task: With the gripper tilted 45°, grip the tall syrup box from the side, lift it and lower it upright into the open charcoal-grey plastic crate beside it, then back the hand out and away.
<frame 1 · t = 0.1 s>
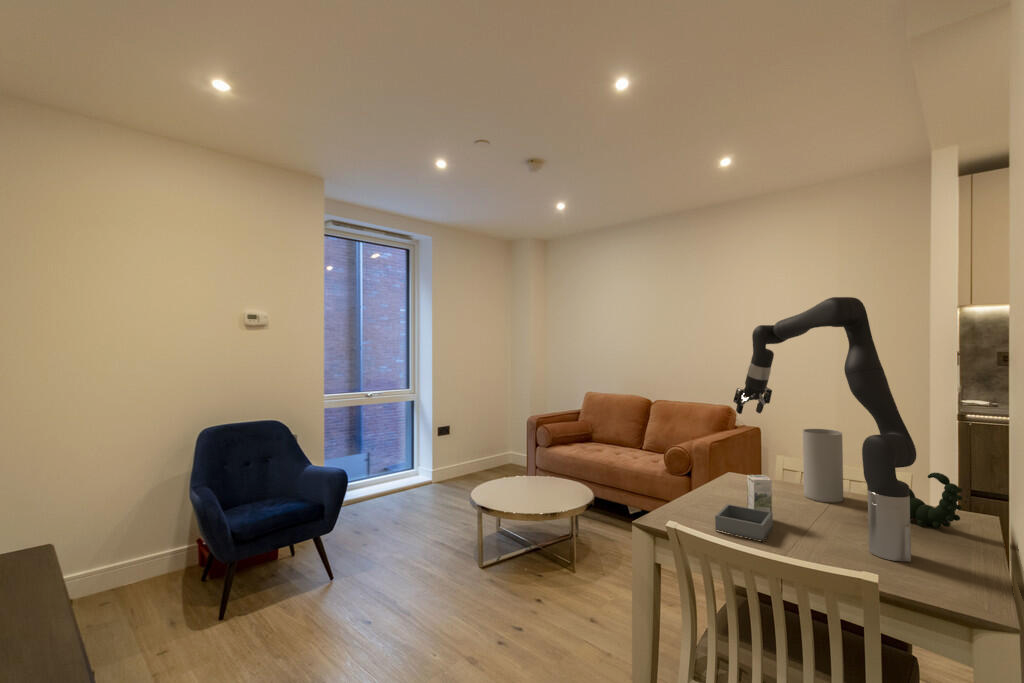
hand: (748, 412, 188), 31 cm above the table, tool tilted 20°, fingers open, 8 cm apart
cylinder vase: (823, 498, 180), on the table
toy figurine: (914, 522, 156), on the table
syrup box: (759, 520, 159), on the table
crate: (744, 529, 151), on the table
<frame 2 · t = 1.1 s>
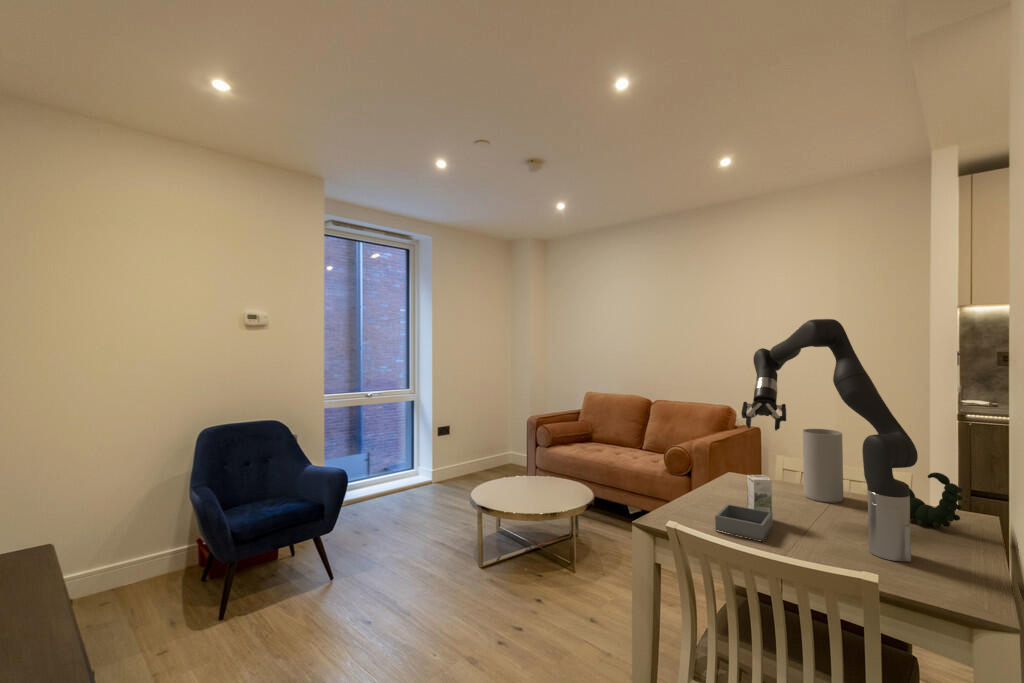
hand: (762, 428, 169), 29 cm above the table, tool tilted 45°, fingers open, 8 cm apart
nothing on the table moved.
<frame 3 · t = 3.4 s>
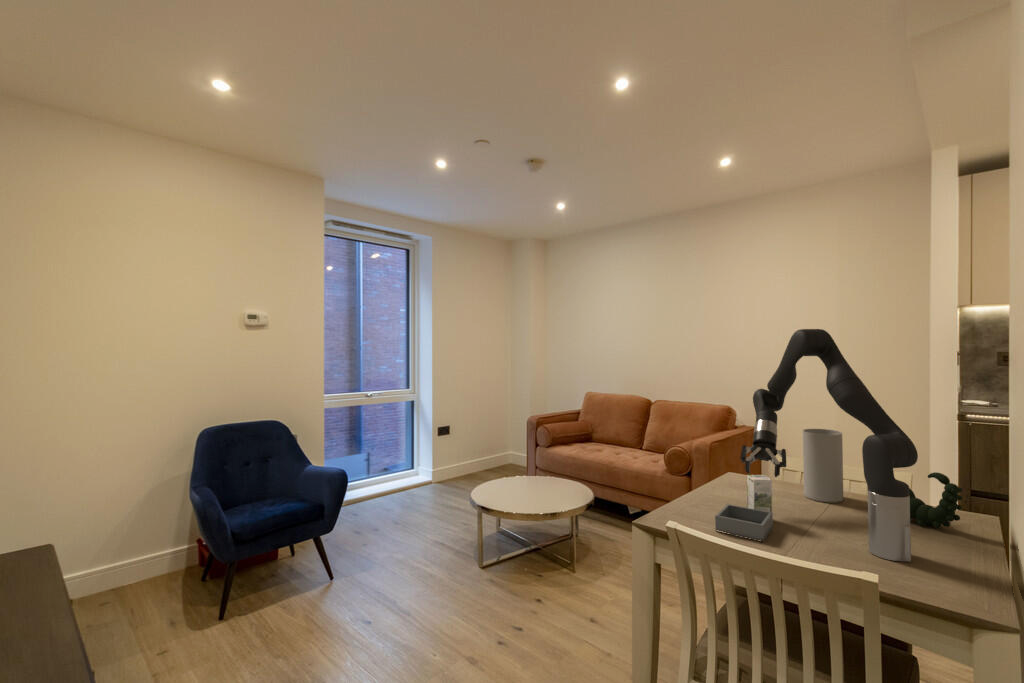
hand: (761, 474, 165), 14 cm above the table, tool tilted 45°, fingers open, 8 cm apart
nothing on the table moved.
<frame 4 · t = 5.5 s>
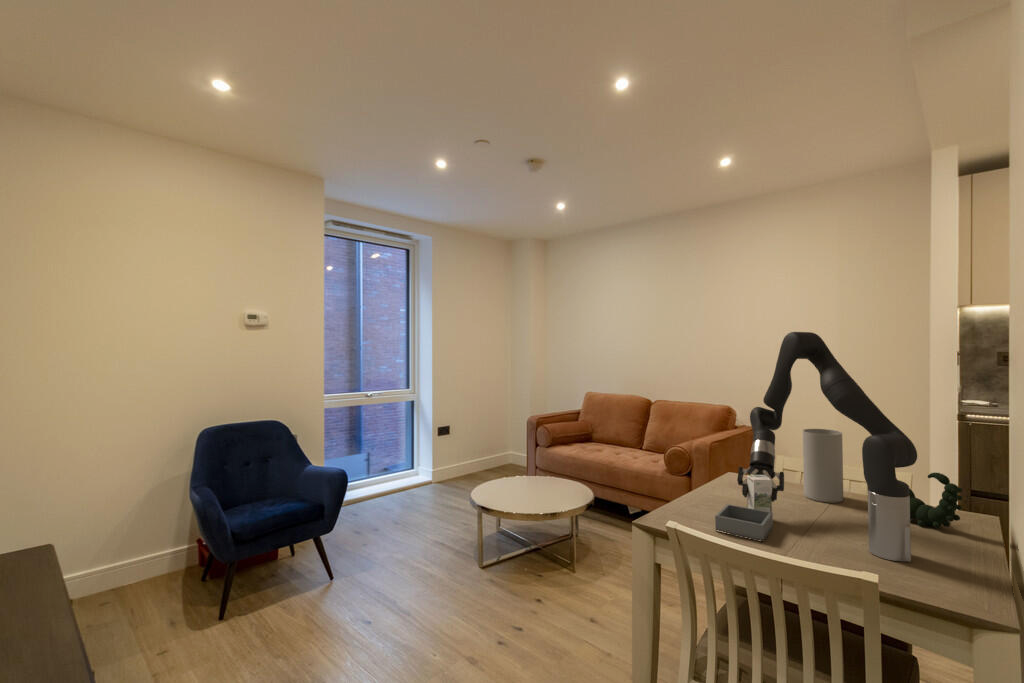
hand: (758, 498, 158), 8 cm above the table, tool tilted 45°, fingers closed on syrup box, 7 cm apart
syrup box: (759, 520, 159), on the table, touching gripper
everything else where it was.
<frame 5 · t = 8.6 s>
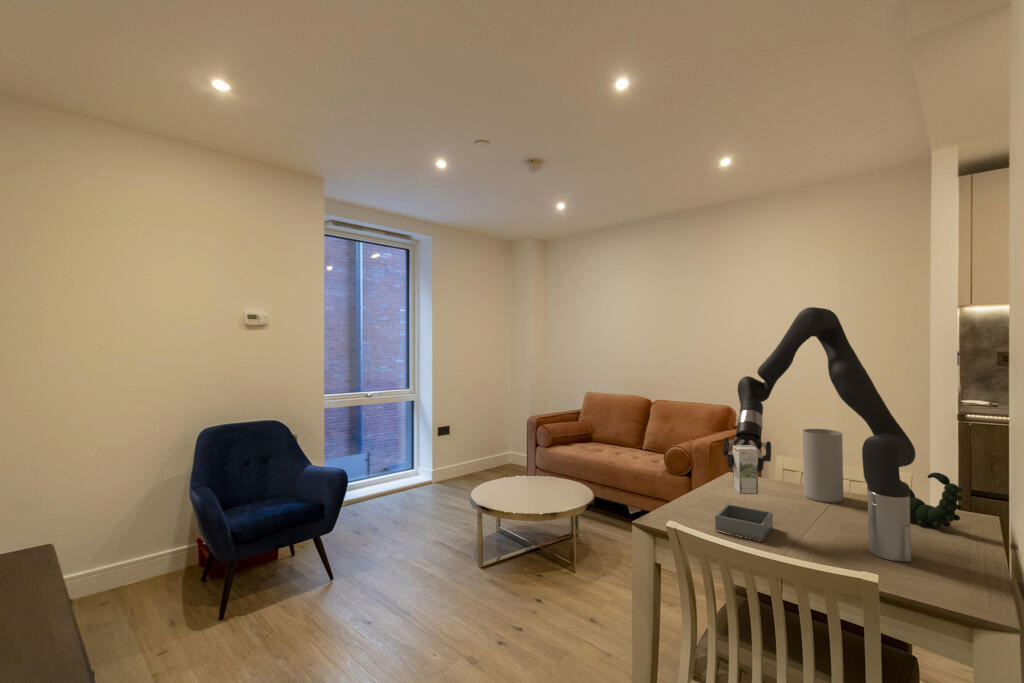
hand: (744, 469, 151), 19 cm above the table, tool tilted 45°, fingers closed on syrup box, 7 cm apart
syrup box: (745, 492, 153), point 11 cm above the table, touching gripper
everything else where it was.
when the fingers open (10 cm above the table, at t = 11.7 s): syrup box drops 1 cm, resting on crate.
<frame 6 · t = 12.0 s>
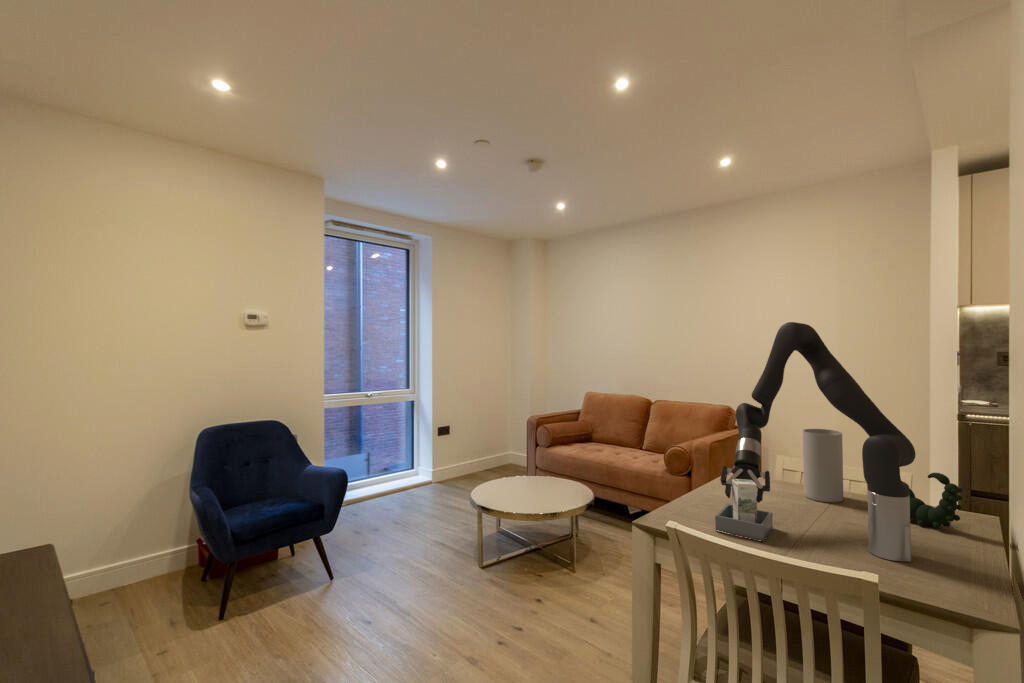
hand: (743, 499, 150), 10 cm above the table, tool tilted 45°, fingers open, 8 cm apart
syrup box: (744, 527, 151), point 1 cm above the table, touching crate
everything else where it was.
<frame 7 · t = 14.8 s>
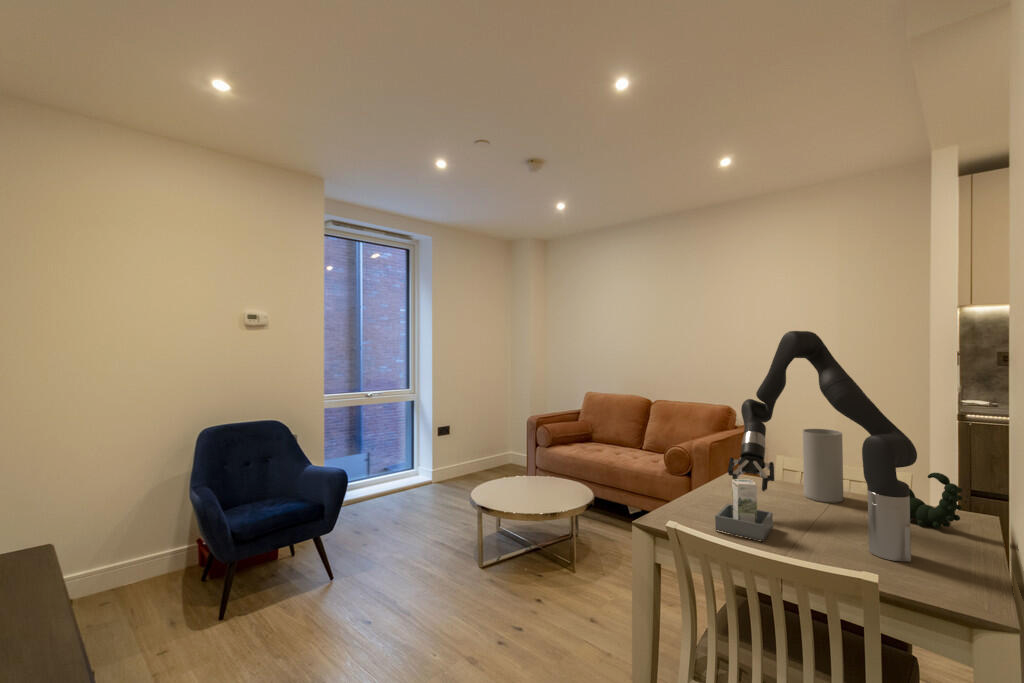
hand: (749, 488, 161), 10 cm above the table, tool tilted 45°, fingers open, 8 cm apart
nothing on the table moved.
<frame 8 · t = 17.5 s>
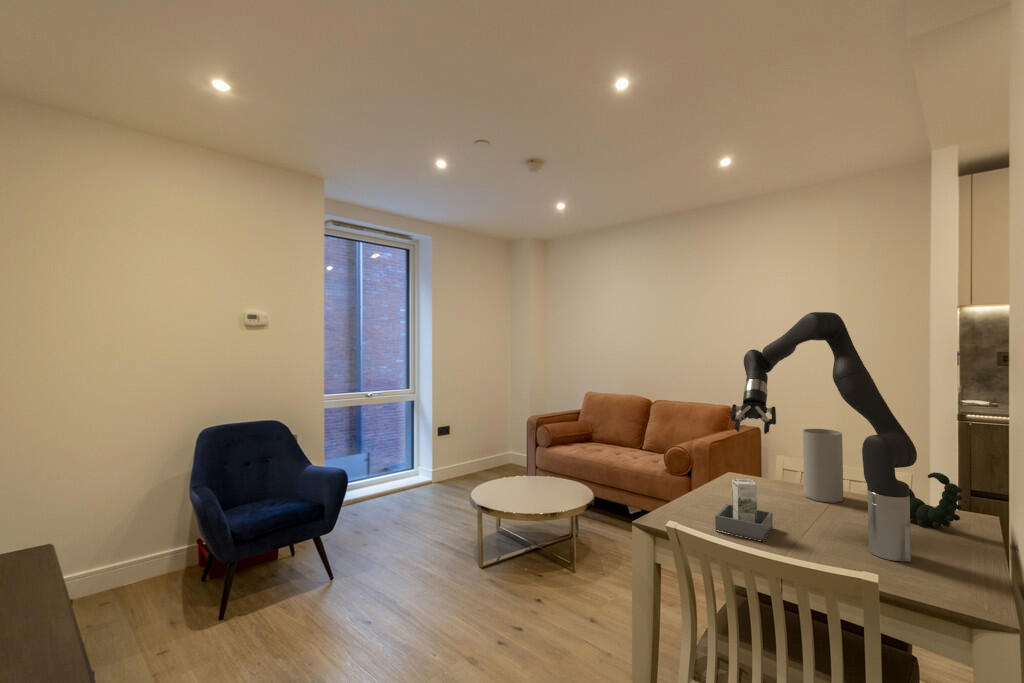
hand: (751, 431, 164), 29 cm above the table, tool tilted 45°, fingers open, 8 cm apart
nothing on the table moved.
at the end: syrup box inside the target area on the crate (0.2 cm from its centre), point 0.8 cm above the crate's base; syrup box tilted 0°; the gripper is holding nothing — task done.
